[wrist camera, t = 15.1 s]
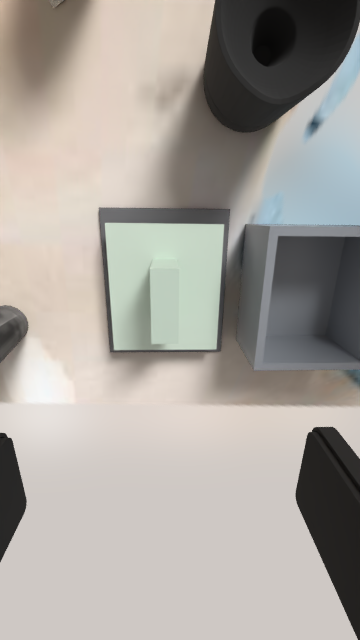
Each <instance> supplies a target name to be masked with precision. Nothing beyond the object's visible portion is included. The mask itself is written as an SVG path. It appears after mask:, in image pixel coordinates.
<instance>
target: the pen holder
mask: <svg viewBox="0 0 360 640" xmlns="http://www.w3.org/2000/svg"><path fill="white" fill-rule="evenodd" d="M359 22H360V0H215V5H214V11H213V17H212V23H211V29H210V35H209V41H208V47H207V53H206V61H205V68H204V91H205V95H206V99H207V102H208V105H209V107H210V109H211V111H212V112H213V114H214V116H215V117H216V118H217V119H218V120H219V121H220V122H221V123H222V124H223V125H225V126H226V127H228V128H230V129H232V130H235V131H239V132H252V131H257V130H260V129H262V128H264V127H266V126H268V125H269V124H271V123H272V122H274V121H275V120H276V119H278V118H279V117H281V116H282V115H283V114H285V113H286V112H287V111H289V110H290V109H291V108H293V107H294V106H295V105H297V104H298V103H299V102H300V101H302V100H303V99H304V98H306V97H307V96H308V95H309V94H311V93H312V92H313V91H315V90H316V89H317V88H319V87H320V86H321V85H322V84H323V83H325V82H326V81H327V80H328V79H329V78H330V77H331V76H332V75H333V74H334V72H335V71H336V70H337V69H338V67H339V66H340V65H341V63H342V62H343V60H344V59H345V57H346V55H347V54H348V52H349V50H350V48H351V45H352V43H353V41H354V38H355V35H356V33H357V30H358V26H359Z"/></svg>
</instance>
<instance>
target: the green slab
mask: <svg viewBox="0 0 360 640" xmlns="http://www.w3.org/2000/svg"><path fill="white" fill-rule="evenodd" d="M105 234H106V248H107V261H108V275H109V289H110V303H111V316H112V330H113V344H114V350H213V349H217V333H218V317H219V301H220V284H221V268H222V252H223V236H224V224H164V223H105Z"/></svg>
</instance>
